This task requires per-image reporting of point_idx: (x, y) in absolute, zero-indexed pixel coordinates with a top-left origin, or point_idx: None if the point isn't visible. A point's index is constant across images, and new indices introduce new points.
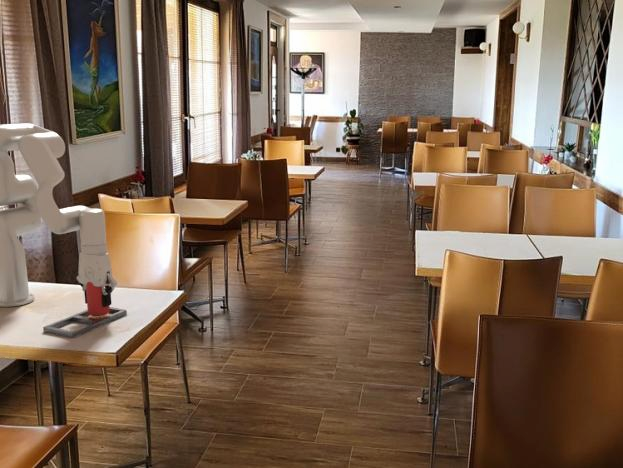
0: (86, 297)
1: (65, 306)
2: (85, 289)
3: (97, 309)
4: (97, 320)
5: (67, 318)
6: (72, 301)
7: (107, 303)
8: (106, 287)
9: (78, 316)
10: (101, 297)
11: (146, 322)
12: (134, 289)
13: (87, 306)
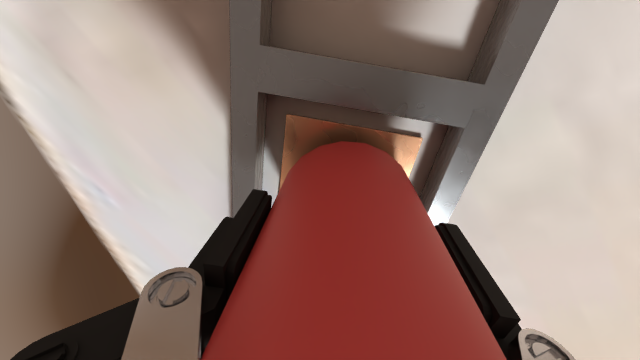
0: (461, 262)
1: (610, 276)
2: (521, 355)
3: (308, 165)
4: (261, 69)
5: (521, 37)
6: (589, 326)
7: (227, 217)
8: None
9: (446, 105)
10: (255, 248)
11: (78, 178)
12: None
13: (412, 187)
